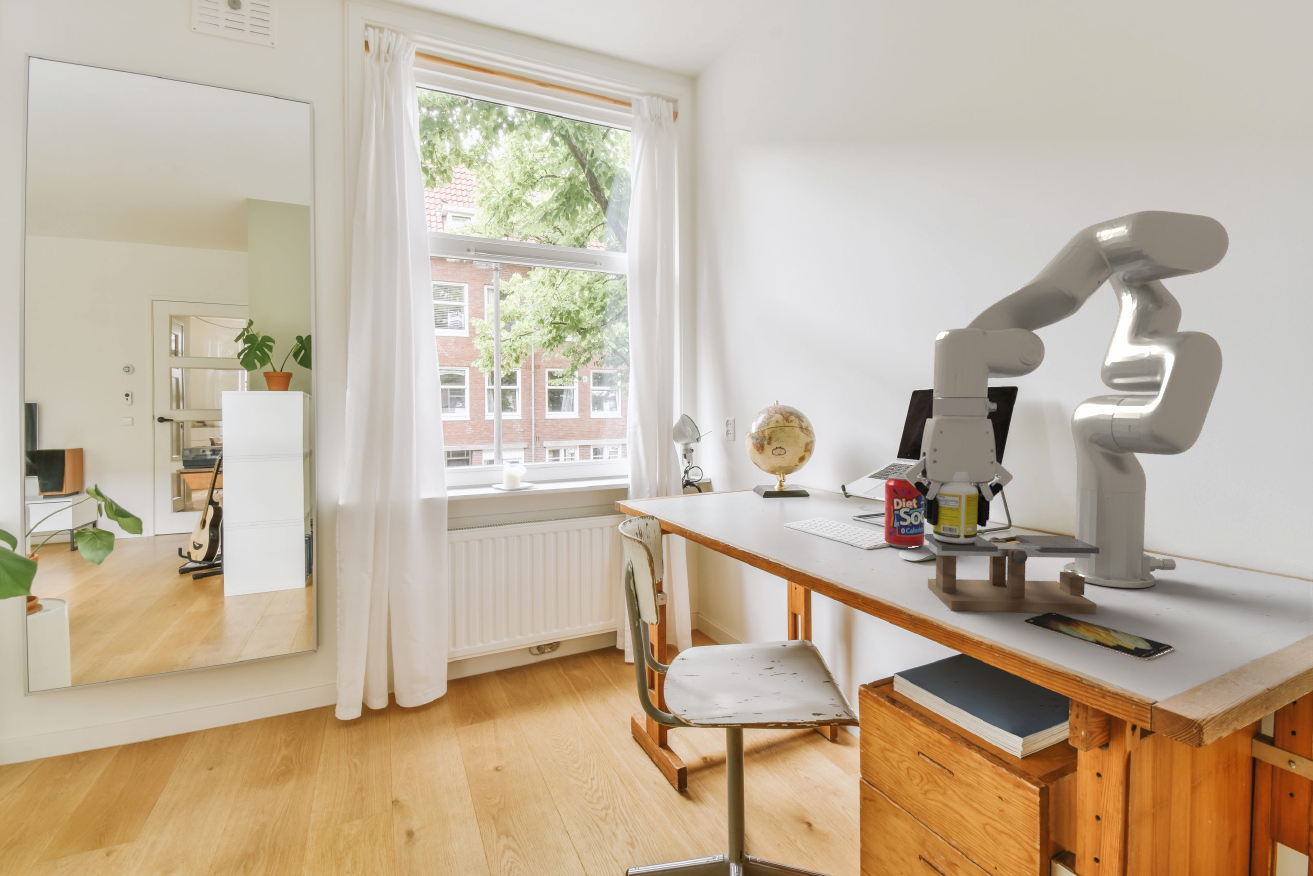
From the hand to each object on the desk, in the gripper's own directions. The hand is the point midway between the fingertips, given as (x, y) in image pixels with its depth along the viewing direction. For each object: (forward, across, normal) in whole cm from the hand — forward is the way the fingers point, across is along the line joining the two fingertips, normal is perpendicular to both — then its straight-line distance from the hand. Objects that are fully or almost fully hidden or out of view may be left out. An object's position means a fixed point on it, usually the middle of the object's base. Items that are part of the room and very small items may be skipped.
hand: (955, 523), depth 95 cm
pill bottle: (+3, 0, 0) cm, 3 cm away
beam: (+4, -8, 0) cm, 9 cm away
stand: (+12, -8, 0) cm, 14 cm away
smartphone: (+13, -13, +13) cm, 22 cm away
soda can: (+12, -2, -35) cm, 37 cm away
